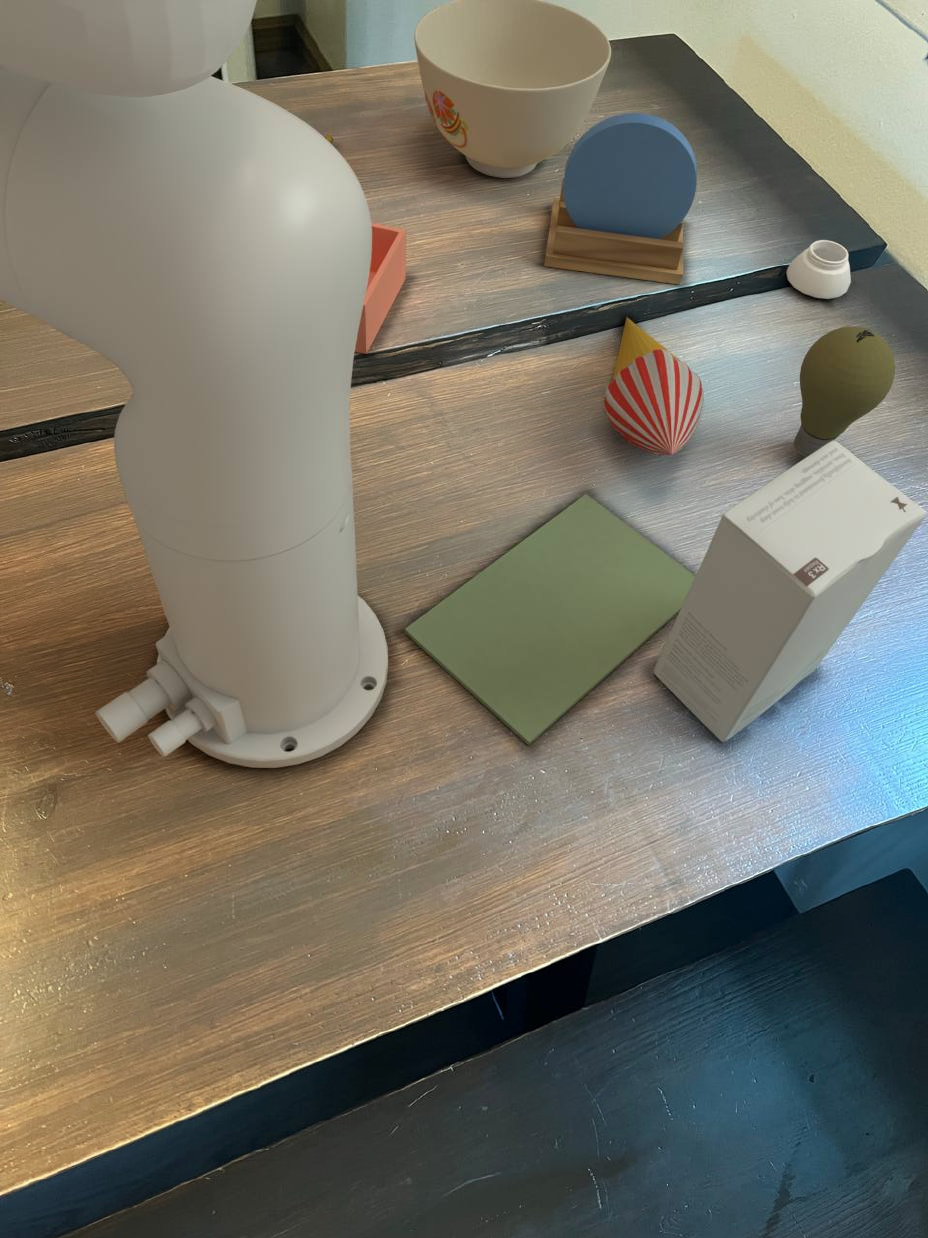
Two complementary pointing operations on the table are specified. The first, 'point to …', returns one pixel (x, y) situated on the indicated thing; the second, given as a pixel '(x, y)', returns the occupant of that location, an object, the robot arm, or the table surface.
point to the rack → (612, 250)
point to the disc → (630, 177)
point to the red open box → (381, 281)
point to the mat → (553, 616)
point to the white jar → (821, 270)
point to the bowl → (509, 78)
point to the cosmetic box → (782, 585)
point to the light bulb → (841, 384)
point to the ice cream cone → (652, 395)
